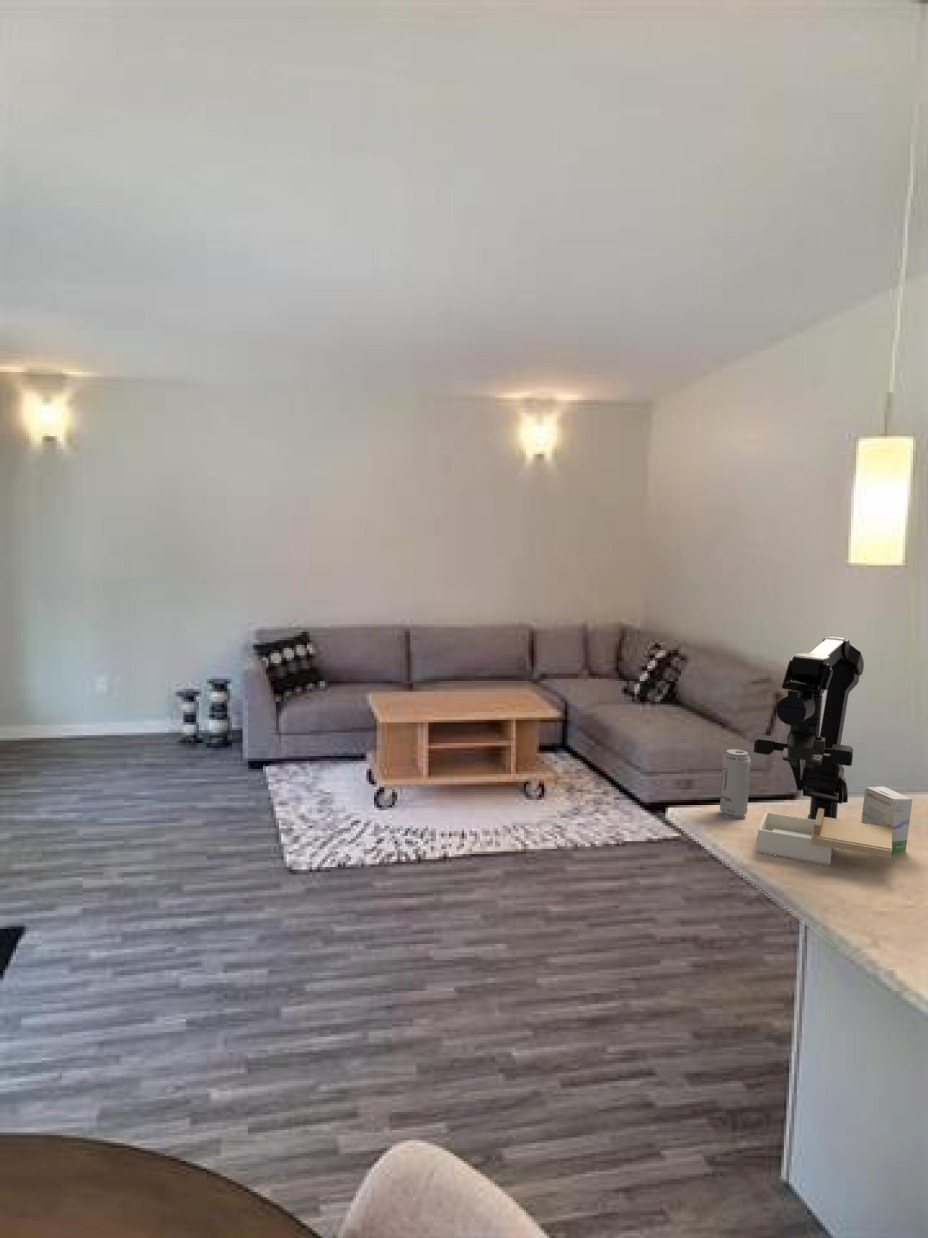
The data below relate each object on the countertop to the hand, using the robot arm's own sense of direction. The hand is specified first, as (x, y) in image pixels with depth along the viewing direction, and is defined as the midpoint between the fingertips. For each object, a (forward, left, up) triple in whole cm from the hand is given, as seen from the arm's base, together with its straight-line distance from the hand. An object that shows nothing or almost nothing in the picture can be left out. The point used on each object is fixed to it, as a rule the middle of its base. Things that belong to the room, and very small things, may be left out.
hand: (799, 790), depth 182 cm
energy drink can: (-15, -15, -13) cm, 25 cm away
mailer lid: (0, +11, -9) cm, 14 cm away
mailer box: (0, 0, -13) cm, 13 cm away
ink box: (-12, +17, -13) cm, 24 cm away
